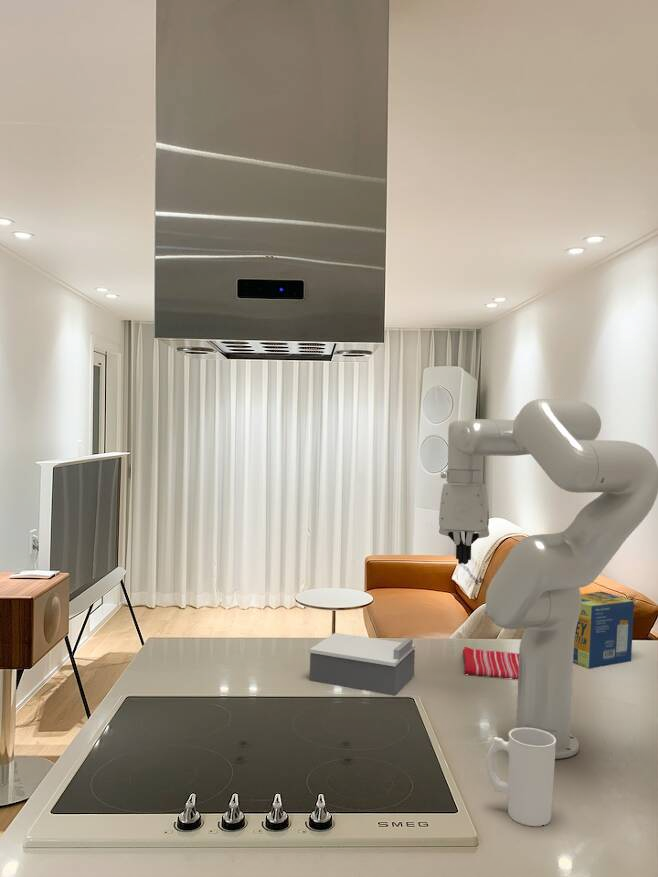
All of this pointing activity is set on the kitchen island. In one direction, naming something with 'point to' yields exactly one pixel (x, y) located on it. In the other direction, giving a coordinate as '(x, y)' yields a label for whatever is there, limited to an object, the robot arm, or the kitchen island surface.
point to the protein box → (603, 630)
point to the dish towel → (491, 663)
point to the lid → (364, 649)
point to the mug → (526, 774)
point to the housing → (362, 673)
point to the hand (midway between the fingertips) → (463, 562)
